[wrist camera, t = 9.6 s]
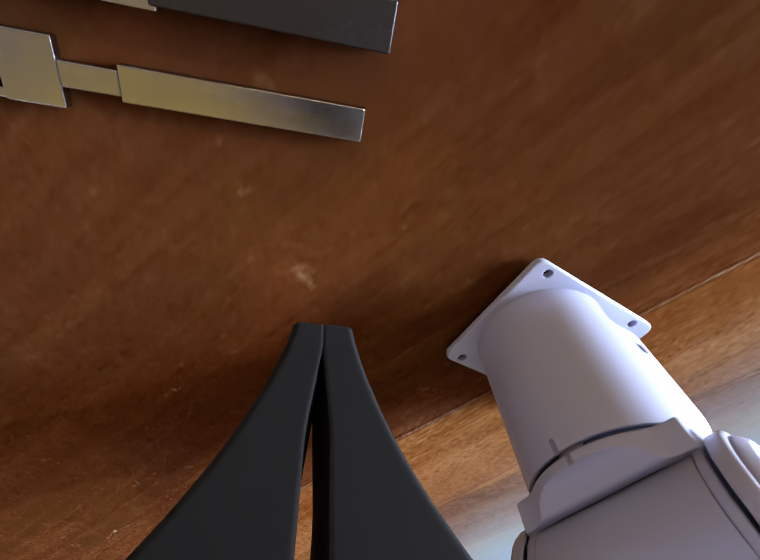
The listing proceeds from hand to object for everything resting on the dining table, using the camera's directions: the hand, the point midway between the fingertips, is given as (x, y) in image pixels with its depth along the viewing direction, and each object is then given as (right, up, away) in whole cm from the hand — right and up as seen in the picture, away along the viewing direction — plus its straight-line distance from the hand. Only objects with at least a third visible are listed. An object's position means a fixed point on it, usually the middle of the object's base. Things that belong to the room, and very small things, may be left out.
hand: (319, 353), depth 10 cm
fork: (-7, +9, +5) cm, 13 cm away
